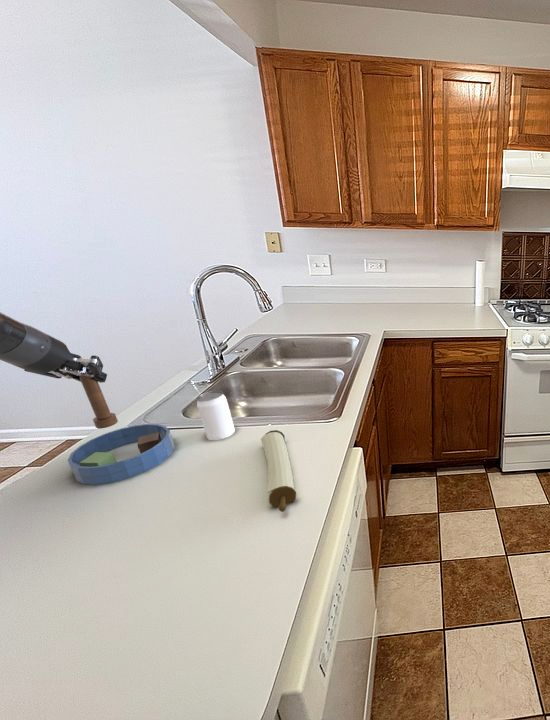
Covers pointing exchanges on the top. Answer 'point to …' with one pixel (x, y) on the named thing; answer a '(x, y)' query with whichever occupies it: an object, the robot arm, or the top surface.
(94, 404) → the brown wooden rod
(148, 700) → the top surface
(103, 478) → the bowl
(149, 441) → the block walnut
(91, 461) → the block sage
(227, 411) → the can
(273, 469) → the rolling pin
